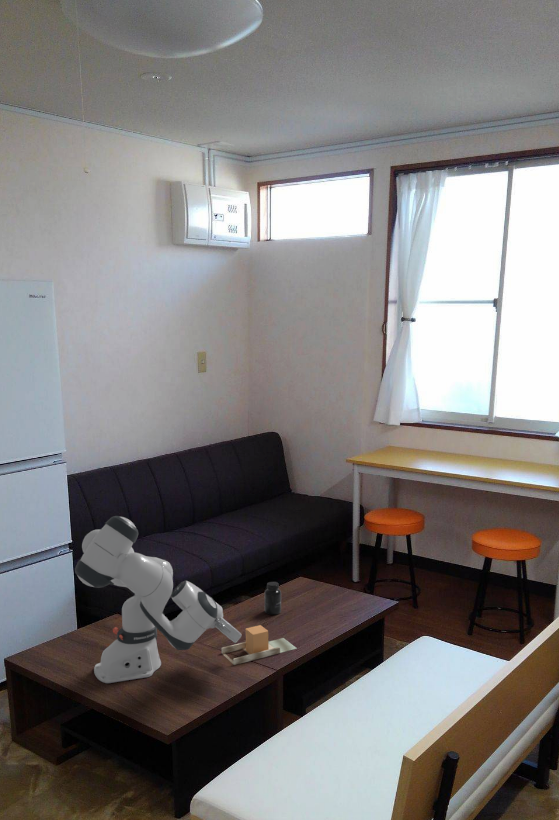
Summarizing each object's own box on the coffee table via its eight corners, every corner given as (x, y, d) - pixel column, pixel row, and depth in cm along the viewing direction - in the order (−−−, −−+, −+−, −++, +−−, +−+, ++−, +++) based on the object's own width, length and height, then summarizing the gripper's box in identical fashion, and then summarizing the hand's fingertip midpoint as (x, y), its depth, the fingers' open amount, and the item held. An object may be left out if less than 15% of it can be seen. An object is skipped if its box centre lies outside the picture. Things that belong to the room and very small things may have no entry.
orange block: (253, 656, 246) (253, 634, 245) (245, 650, 251) (245, 628, 250) (268, 652, 249) (268, 631, 248) (260, 646, 254) (260, 625, 253)
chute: (234, 669, 240) (233, 659, 240) (221, 657, 249) (221, 647, 248) (297, 652, 252) (297, 643, 252) (283, 641, 261) (283, 632, 260)
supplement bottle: (281, 615, 285) (280, 586, 284) (264, 615, 285) (263, 586, 284) (281, 608, 292) (281, 580, 291) (265, 608, 292) (264, 580, 291)
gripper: (228, 617, 230) (255, 640, 236) (204, 597, 248) (230, 619, 254) (215, 633, 229) (243, 655, 234) (193, 612, 247) (219, 633, 252)
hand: (236, 636), depth 244 cm, fingers closed
